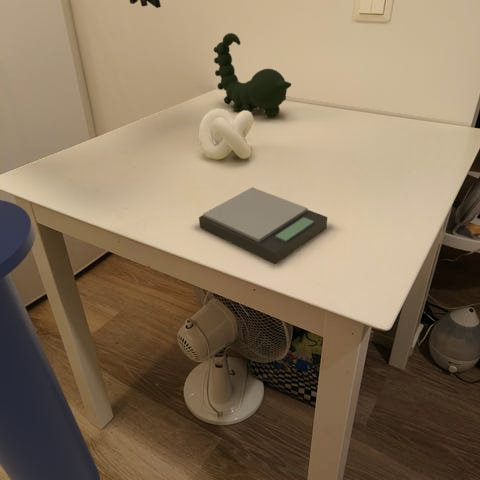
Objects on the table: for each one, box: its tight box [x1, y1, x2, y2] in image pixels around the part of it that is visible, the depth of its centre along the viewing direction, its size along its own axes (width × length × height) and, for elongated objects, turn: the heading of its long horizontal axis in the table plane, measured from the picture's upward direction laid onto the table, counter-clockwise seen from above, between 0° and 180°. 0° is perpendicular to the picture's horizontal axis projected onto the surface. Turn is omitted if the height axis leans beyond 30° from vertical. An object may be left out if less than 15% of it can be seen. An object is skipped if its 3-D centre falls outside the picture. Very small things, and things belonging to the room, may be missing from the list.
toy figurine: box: [213, 32, 292, 119], centre depth 114 cm, size 9×19×25 cm
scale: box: [198, 186, 328, 265], centre depth 72 cm, size 16×13×3 cm
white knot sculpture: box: [198, 108, 254, 161], centre depth 95 cm, size 11×12×9 cm
